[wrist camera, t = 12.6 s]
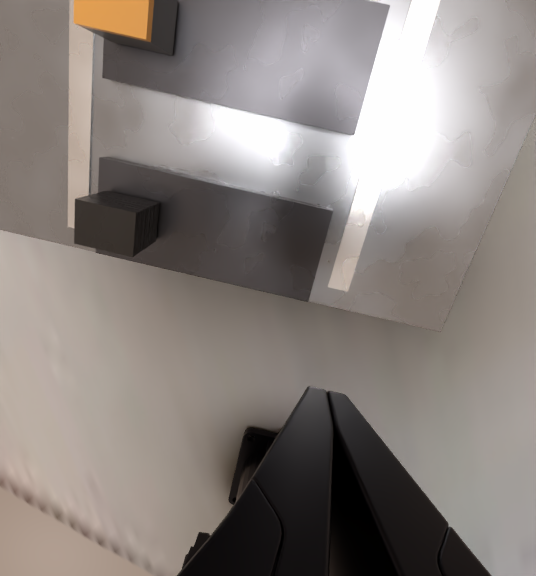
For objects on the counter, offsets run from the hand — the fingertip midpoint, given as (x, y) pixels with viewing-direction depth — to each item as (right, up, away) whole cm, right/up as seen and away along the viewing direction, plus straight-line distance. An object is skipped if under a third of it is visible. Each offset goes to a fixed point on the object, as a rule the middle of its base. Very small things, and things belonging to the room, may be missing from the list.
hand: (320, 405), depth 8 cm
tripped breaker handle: (-6, +13, +6) cm, 15 cm away
